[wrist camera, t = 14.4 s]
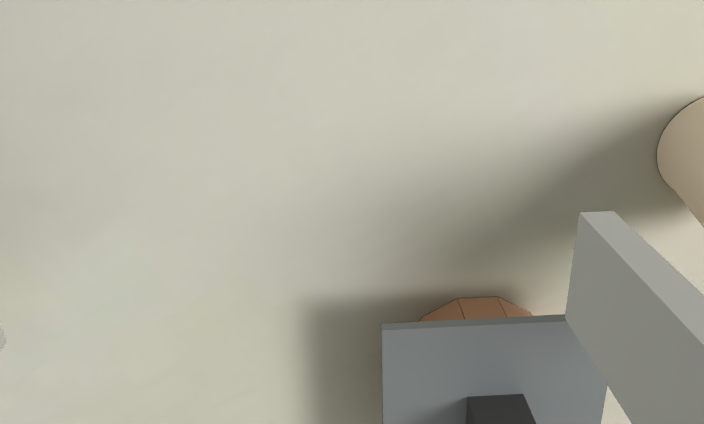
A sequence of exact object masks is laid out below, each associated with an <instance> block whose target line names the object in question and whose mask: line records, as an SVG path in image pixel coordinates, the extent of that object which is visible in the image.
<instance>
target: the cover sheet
mask: <svg viewBox="0 0 704 424" xmlns="http://www.w3.org/2000/svg"><path fill="white" fill-rule="evenodd" d="M381 358H382V424H601V419H602V413H603V407H604V402H605V396H606V390H607V384H606V382H605V380H604V379H603V377H602V376H601V374H600V373H599V371H598V369H597V368H596V366H595V365H594V363H593V362H592V360H591V358H590V357H589V355H588V354H587V352H586V351H585V349H584V347H583V346H582V344H581V343H580V341H579V340H578V338H577V336H576V335H575V333H574V332H573V330H572V328H571V327H570V325H569V324H568V322H567V321H566V319H565V314H564V315H544V316H524V317H503V318H483V319H463V320H443V321H423V322H402V323H382V324H381Z"/></svg>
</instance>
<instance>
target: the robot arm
mask: <svg viewBox="0 0 704 424" xmlns="http://www.w3.org/2000/svg"><path fill="white" fill-rule="evenodd" d="M565 319H566V321H567V322H568V324H569V325H570V327H571V328H572V330H573V332H574V333H575V335H576V336H577V338H578V340H579V341H580V343H581V344H582V346H583V347H584V349H585V351H586V352H587V354H588V355H589V357H590V358H591V360H592V362H593V363H594V365H595V366H596V368H597V369H598V371H599V373H600V374H601V376H602V377H603V379H604V380H605V382H606V384H607V385H608V387H609V388H610V390H611V391H612V393H613V395H614V396H615V398H616V399H617V401H618V403H619V404H620V406H621V407H622V409H623V410H624V412H625V414H626V415H627V417H628V418H629V420H630V421H631V423H632V424H704V295H703V294H702V293H701V292H700V291H699V290H698V289H697V288H695V287H694V286H693V285H692V284H691V283H690V282H689V281H688V280H687V279H686V278H685V277H684V276H683V275H682V274H681V273H679V272H678V271H677V270H676V269H675V268H674V267H673V266H672V265H671V264H670V263H669V262H668V261H667V260H666V259H665V258H663V257H662V256H661V255H660V254H659V253H658V252H657V251H656V250H655V249H654V248H653V247H652V246H651V245H650V244H648V243H647V242H646V241H645V240H644V239H643V238H642V237H641V236H640V235H639V234H638V233H637V232H636V231H635V230H634V229H632V228H631V227H630V226H629V225H628V224H627V223H626V222H625V221H624V220H623V219H622V218H621V217H620V216H619V215H618V214H616V213H615V212H614V211H601V212H579V219H578V226H577V233H576V240H575V248H574V255H573V262H572V269H571V276H570V284H569V291H568V298H567V305H566V313H565ZM6 344H7V342H6V339H5V336H4V332H3V329H2V326H1V323H0V351H1V350H2V349H3V347H4V346H5V345H6Z"/></svg>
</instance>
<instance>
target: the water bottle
mask: <svg viewBox="0 0 704 424" xmlns="http://www.w3.org/2000/svg"><path fill="white" fill-rule="evenodd" d="M657 164H658V169H659V172H660V174H661V176H662V178H663V180H664V181H665V182H666V183H667V184H668V185H669V186H670V187H671V188H672V189H673V190H675V191H676V192H677V194H678V195H679V196H680V198H681V199H682V200H683V202H684V203H685V204H686V205H687V207H688V208H689V209H690V211H691V212H692V213H693V215H694V216H695V217H696V219H697V220H698V221H699V222H700V224H701V225H702V226H703V227H704V97H703V98H701V99H699V100H697V101H695V102H693V103H692V104H690V105H688V106H687V107H686V108H684V109H683V110H682V111H680V112H679V113H678V114H677V115H676V116H675V117H674V118H673V119H672V120H671V121H670V122H669V124H668V125H667V127H666V128H665V130H664V131H663V133H662V136H661V138H660V141H659V144H658V149H657Z"/></svg>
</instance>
